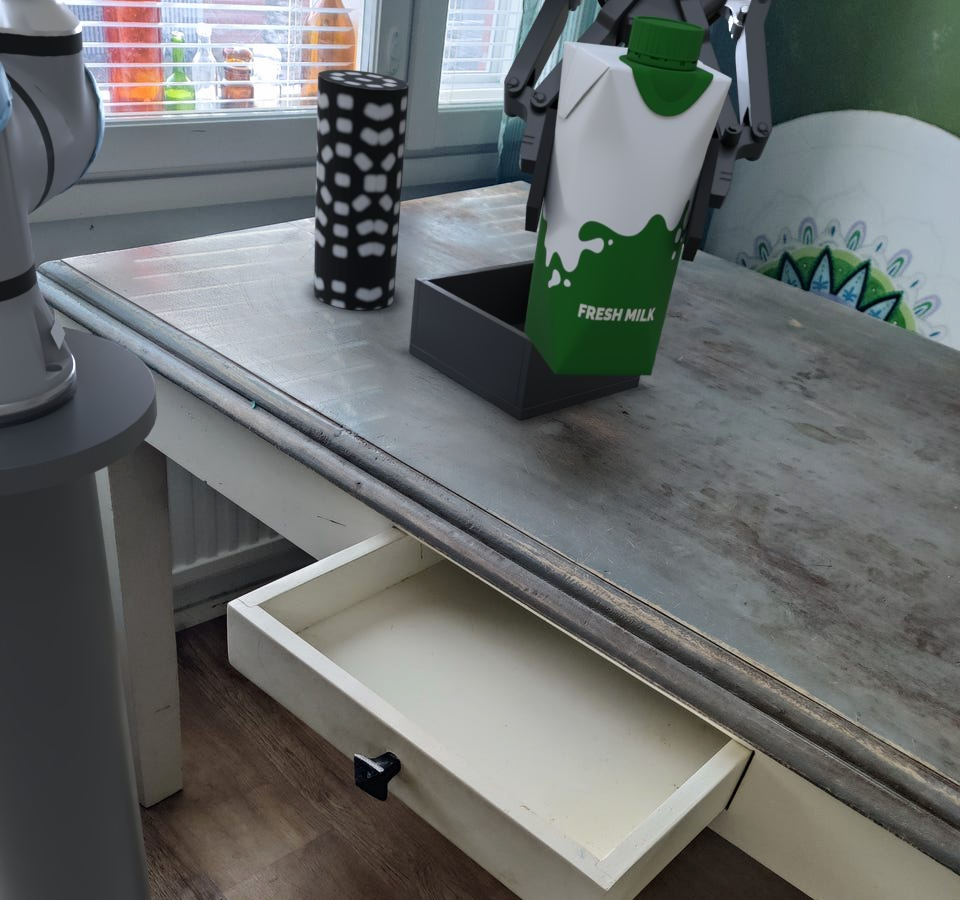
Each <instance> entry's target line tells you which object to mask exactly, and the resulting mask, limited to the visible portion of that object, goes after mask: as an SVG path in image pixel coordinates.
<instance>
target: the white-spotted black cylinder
mask: <svg viewBox="0 0 960 900" xmlns="http://www.w3.org/2000/svg"><path fill="white" fill-rule="evenodd" d="M409 88H410V84H409V83H408V82H406V81H405V80H402V79H400V78H398V77H393V76H390V75H387V74H382V73H377V72H370V71H365V70H354V69H327V70H323V71H319V72H318V74H317V103H316V104H317V106H316V107H317V108H316V109H317V110H316V154H315V155H316V157H315V158H316V159H315V161H316V162H315V163H316V164H315V207H314V208H315V210H314V211H315V213H314V261H313V262H314V264H313V265H314V267H313V268H314V269H313V271H314V272H313V294H314V296H315V297H316V298H317V299H318V300H319V301H321V302H323V303H325V304H328V305H330V306H333V307H336V308H340V309H345V310H346V309H347V310H353V311H357V310H358V311H370V310H371V311H372V310H379V309H382V308H386V307H388V306H390V305H392V304H393V302H394V301H395V292H396V291H395V289H396V287H395V286H396V274H397V262H398V261H397V259H398V249H399V248H398V247H399V246H398V245H399V231H400V219H401V218H400V216H401V202H402V190H403V175H404V160H405V145H406V132H407V118H408V117H407V116H408V103H409V90H410V89H409Z"/></svg>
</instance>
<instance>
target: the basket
mask: <svg viewBox="0 0 960 900" xmlns="http://www.w3.org/2000/svg"><path fill="white" fill-rule="evenodd" d="M533 266H534V259H530V260H523V261H517V262H511V263H504V264H499V265H498V264H497V265H492V266H485V267H479V268H473V269H472V268H471V269H467V270H459V271H454V272H453V271H452V272H448V273H442V274H436V275H429V276H422V277H417V278H415V279H414V288H413V300H412V301H413V302H412V309H411V310H412V311H411V322H410V323H411V324H410V335H409V350H408V353H409V354H411V355H413V356H414V357H416V358H418V359H419V360H421V361H423V362H424V363H426V364H427V365H429V366H430V367H432V368H433V369H435V370H437V371H439V372H440V373H442V374H444V375H445V376H446V377H448V378H450V379H452V380H453V381H455V382H457V383H458V384H460V385H462V386H463V387H464V388H466V389H468V390H470V391H471V392H472V393H474V394H476V395H478V396H480V397H481V398H483V399H484V400H486V401H488V402H490V403H491V404H493V405H494V406H496V407H497V408H499V409H500V410H502V411H504V412H506V413H507V414H509V415H511V416H512V417H514V418H515V419H517V420H519V421H521V420H526V419H528V418H532V417H536V416H539V415H542V414H546V413H550V412H553V411H557V410H560V409H564V408H567V407H571V406H574V405H577V404H581V403H585V402H588V401H591V400H594V399H599V398H602V397H606V396H609V395H612V394H616V393H620V392H623V391H626V390H631V389H634V388H636V387H639V385H640V381H641V376H642V375H561V374H557V375H555V374H554V372H553V371H552V369H551V368H550V367H549V365H548V364H547V363H546V361H545V360H544V358H543V357H542V356H541V354H540V353H539V351H538V350H537V349H536V347H535V346H534V345H533V343H532V342H531V340H530V339H529V338H528V336H527V335H526V333H525V332H524V329H525V322H526V315H527V308H528V301H529V293H530V286H531V279H532V272H533Z"/></svg>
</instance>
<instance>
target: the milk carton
mask: <svg viewBox="0 0 960 900" xmlns="http://www.w3.org/2000/svg"><path fill="white" fill-rule="evenodd" d="M704 33H705V29H704V28H703V27H701V26H698V25H695V24H691V23H687V22H682V21H678V20H672V19H666V18H660V17H651V16H635V17H634V18H633V23H632V28H631V33H630V38H629V43H628V48H624V46H623V47H622V46H621V47H615V46H606V45H597V44H588V43H579V42H577V41H570V40H569V41H568V40H565V41H564V42H563V53H562V58H563V63H562V73H561V82H560V92H559V101H558V111H557V120H556V128H555V134H554V140H553V146H552V152H551V158H550V164H549V171H548V177H547V183H546V189H545V195H544V200H543V205H542V210H541V214H540V219H539V226H538V232H537V233H538V234H537V240H536V246H535V252H534V259H533V260H534V266H533V272H532V279H531V286H530V293H529V301H528V308H527V315H526V322H525V329H524V332H525V333H526V335H527V336H528V338H529V339H530V340H531V342H532V343H533V345H534V346H535V347H536V349H537V350H538V351H539V353H540V354H541V356H542V357H543V358H544V360H545V361H546V363H547V364H548V365H549V367H550V368H551V369H552V371H553V372H554V374H555V375H557V374H561V375H641V376H652V373H653V368H654V364H655V360H656V357H657V352H658V348H659V344H660V341H661V337H662V333H663V328H664V324H665V321H666V315H667V312H668V307H669V305H670V304H669V303H670V300H671V299H670V298H671V295H672V291H673V286H674V282H675V278H676V274H677V271H678V266H679V263H680V260H681V256H682V251H683V247H684V242H685V237H686V231H687V226H688V222H689V218H690V214H691V210H692V206H693V202H694V198H695V194H696V190H697V186H698V182H699V178H700V174H701V170H702V166H703V162H704V158H705V155H706V151H707V148H708V145H709V142H710V139H711V136H712V134H713V131H714V128H715V126H716V123H717V120H718V117H719V115H720V112H721V109H722V106H723V104H724V101H725V98H726V95H727V93H728V94H729V90H730V87H731V85H732V80H733V79H732V77H730V76H729V75H726V74H725V73H722V72H721V73H720V72H718V71H716V70H714V69H712V68H710V67H708V66H706V65H704V64H703V63H702V62H701V61H699V56H700V51H701V47H702V42H703V38H704Z"/></svg>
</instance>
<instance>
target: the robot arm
mask: <svg viewBox="0 0 960 900" xmlns="http://www.w3.org/2000/svg"><path fill="white" fill-rule="evenodd" d="M583 2H584V0H544V1H543V3H542V6H541V7H540V9H539V11H538V14H537V15H536V17H535V19H534V21H533V23H532V25H531V27H530V29H529V30H528V33H527V35H526V37H525V39H524V41H523V43H522V44H521V46H520V48H519V51H518V52H517V54H516V56H515V58H514V60H513V62H512V64H511V66H510V68H509V70H508V72H507V74H506V76H505V78H504V80H503V112H504V114H505V115H506V116H507V117H510V118H517V117H518V118H520V119H521V120H522V121H524V123H525V125H524V129H523V135H522V138H521V144H520V147H519V159H518V160H519V161H518V164H519V169H520V173H523V174H528V175H532V178H531V181H530V186H529V191H528V196H527V201H526V206H525V221H524V222H525V223H524V231H525V232H531V233H535V234H536V233H538V229H539V225H540V220H541V214H542V208H543V201H544V195H545V189H546V183H547V177H548V171H549V164H550V158H551V152H552V146H553V140H554V134H555V128H556V120H557V111H558V101H559V92H560V82H561V73H562V63H563V57H562V58H561V59H560V60H559V61H558V63H557V64H556V65H555V66H554V67H553V68H552V69H551V71H550V72H549V73H548V74H547V75H546V76H545V77H544V79H542V81H541V82H540V83H539V85H538V86H536V85H537V83H538V81H539V79H540V77H541V75H542V74H543V71H544V69H545V67H546V65H547V63H548V62H549V59H550V57H551V55H552V53H553V51H554V49H555V48H556V45H557V43H558V41H559V39H560V37H561V36H562V33H563V31H564V30H565V28H566V25H567V23H568V19H569V14H570V12H575V11H577V10H578V7H579V6H581V5H582V3H583ZM596 2H597V4H598V6H599V8H600V10H599V11H598V12H597V16H596V18H595V19H594V21H593V22H592V23H591V25H589V27H588V28H586V30H585V31H584V33H583V34H582V35H581V36H580V37H579V38H578V39H577V41H576V42H579V43H588V44H597V45H606V46H615V47H622V46H623V47H624V48H628V43H629V38H630V33H631V28H632V23H633V18H634V17H635V16H651V17H660V18H666V19H672V20H678V21H682V22H687V23H691V24H695V25H698V26H701V27H703V28H704V29H705V33H704V38H703V42H702V47H701V51H700V56H699V61H701V62H702V63H703V64H704V65H706V66H708V67H710V68H712V69H714V70H716V71H718V72H720V73H722V71H721V68H720V66H719V65H720V64H719V62H718V60H717V56H716V52H715V51H714V47H713V44H712V41H711V29H710V28H711V27H712V26H713V25H714V24H715V23H716V22H717V21H719V20H720V19H721V17H722V18H725V20H727V22H728V31H729V33H730V34H731V36H730V37H731V40H732V41H735V42H736V41H737V43H736V46H735V68H736V70H735V71H736V82H737V95H738V96H737V97H738V109H739V110H738V111H739V121H738V118H737V115H736V111H735V108H734V105H733V103H732V100H731V97H730V94H729V92H728V93H727V95H726V98H725V101H724V104H723V106H722V109H721V112H720V115H719V117H718V120H717V123H716V126H715V128H714V131H713V134H712V136H711V139H710V142H709V145H708V148H707V151H706V155H705V158H704V162H703V166H702V170H701V174H700V178H699V182H698V186H697V190H696V194H695V198H694V202H693V206H692V210H691V214H690V218H689V222H688V226H687V230H686V234H685V238H684V242H683V246H682V251H681V256H680V260H681V261H687V262H691V263H694V260H695V258H696V255H697V254H698V251H699V249H700V245H701V243H702V241H703V236H704V231H705V225H706V220H707V215H708V211H709V208H711V209H717V210H721V209H722V207H723V205H724V204H725V202H726V200H727V197H728V195H729V192H730V190H731V185H732V179H733V174H734V169H735V163H736V161H738V160H741V159H745V160H746V161H748V162H757V161H758V160H760V159H761V157H762V155H763V152H764V150H765V148H766V146H767V143H768V141H769V139H770V136H771V134H772V131H773V120H772V119H773V118H772V106H771V105H772V104H771V93H770V83H769V82H770V81H769V69H768V68H769V67H768V56H767V44H766V30H765V23H766V20H767V16H768V13H769V11H770V7H771V5H772V0H596ZM84 60H85V59H84V45H83V28H82V23H81V20H80V19H79V18H78V17H77V16H76V14H74V12H73V11H72V10H71V9H70V7H68V5H67V4H66V3H65V2H64V1H63V0H0V428H4V427H9V426H14V425H19V424H22V423H26V422H30V421H33V420H36V419H39V418H41V417H44V416H46V415H48V414H50V413H52V412H54V411H56V410H58V409H59V408H61V407H62V406H64V405H65V404H66V403H67V402H69V401H70V400H71V398H72V397H73V396H74V394H75V392H76V390H77V384H78V383H77V376H76V368H75V361H74V358H73V356H72V354H71V352H70V350H69V348H68V346H67V344H66V342H65V340H64V336H65V332H64V330H63V328H62V327H63V326H62V323H61V321H60V320H59V317H58V316H56V318H55V317H54V315H53V314H52V311H51V310H50V308H49V306H48V303H47V302H46V300H45V297H44V296H43V294H42V292H41V289H40V286H39V281H38V276H37V269H36V263H35V254H34V248H33V247H34V246H33V241H32V234H31V228H30V221H29V215H31V214H32V213H33V212H35V211H36V210H38V209H39V208H40V207H42V206H44V205H45V204H46V203H48V202H49V201H50V200H53V198H55V197H57V196H59V195H61V194H64V193H65V192H67V191H69V190H70V189H72V188H73V187H74V186H75V185H76V184H77V183H78V182H79V181H81V179H82V178H84V177H85V175H86V174H87V172H88V171H89V169H90V167H91V166H92V164H93V163H94V161H95V160H96V158H97V156H98V154H99V153H100V150H101V148H102V144H103V141H104V137H105V136H104V135H105V129H106V115H105V114H106V113H105V112H106V111H105V105H104V101H103V96H102V92H101V90H100V88H99V84H98V82H97V80H96V78H95V76H94V74H93V72H92V71H91V69H89V68H88V66H87V65H86V64H85V62H84ZM535 87H536V88H535ZM739 122H740V123H739Z"/></svg>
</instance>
